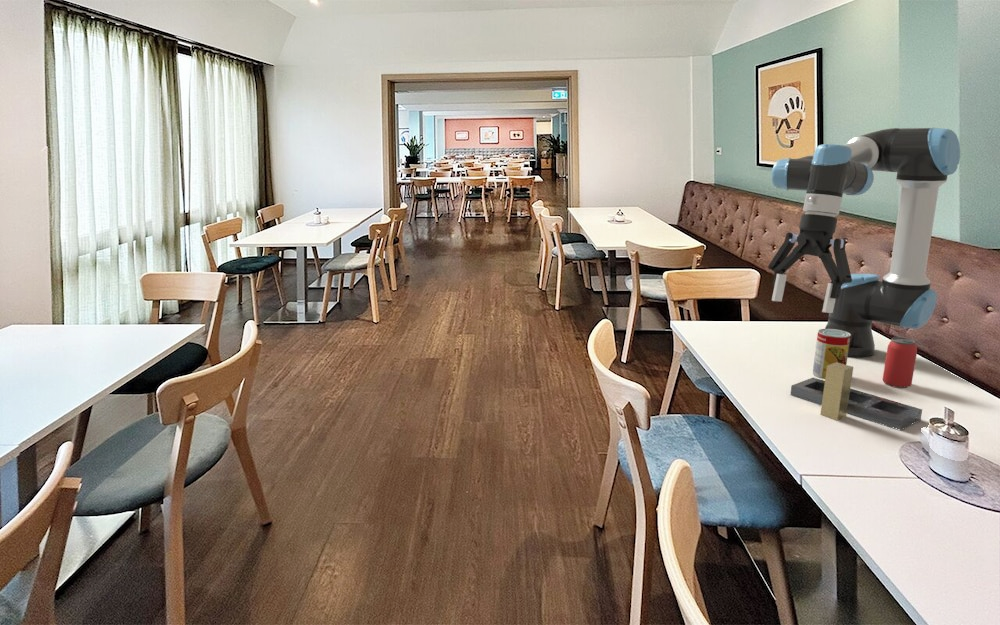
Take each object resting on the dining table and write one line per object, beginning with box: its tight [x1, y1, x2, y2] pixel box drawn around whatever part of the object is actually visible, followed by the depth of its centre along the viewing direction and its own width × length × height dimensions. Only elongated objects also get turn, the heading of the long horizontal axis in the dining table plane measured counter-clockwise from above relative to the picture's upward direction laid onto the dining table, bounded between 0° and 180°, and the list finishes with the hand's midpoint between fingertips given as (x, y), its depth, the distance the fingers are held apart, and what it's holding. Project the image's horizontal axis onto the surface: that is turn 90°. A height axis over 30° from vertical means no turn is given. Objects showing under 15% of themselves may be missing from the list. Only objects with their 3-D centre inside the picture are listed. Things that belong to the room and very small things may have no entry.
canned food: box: [812, 328, 851, 380], centre depth 182 cm, size 8×8×12 cm
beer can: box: [882, 336, 918, 389], centre depth 176 cm, size 7×7×12 cm
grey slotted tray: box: [790, 377, 923, 431], centre depth 162 cm, size 10×26×2 cm, turn 37°
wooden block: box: [819, 362, 854, 421], centre depth 156 cm, size 4×4×12 cm
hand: (801, 306), depth 158 cm, fingers open, 13 cm apart
